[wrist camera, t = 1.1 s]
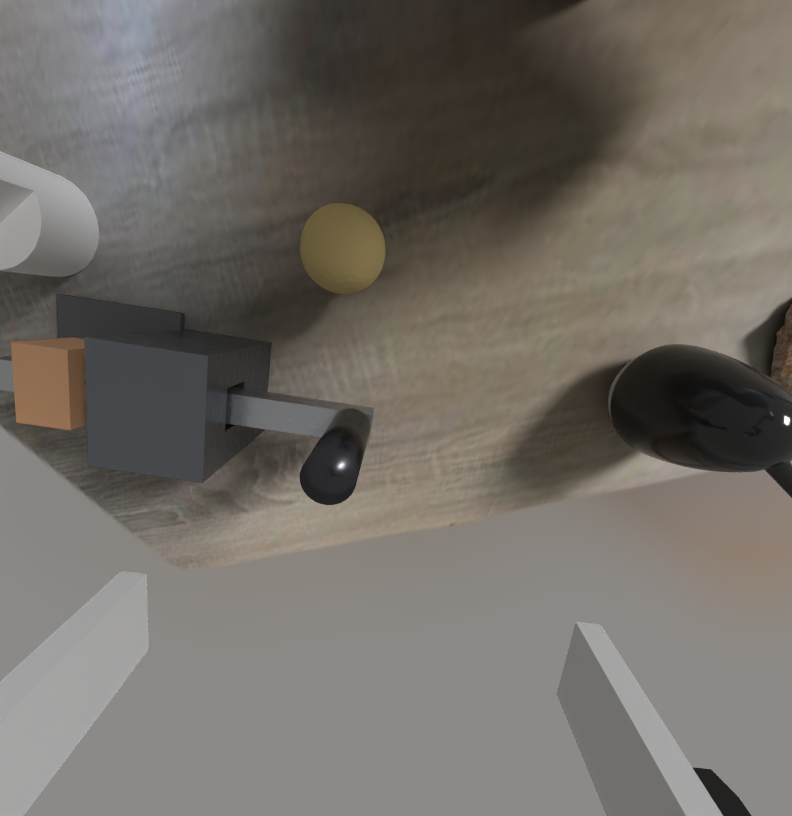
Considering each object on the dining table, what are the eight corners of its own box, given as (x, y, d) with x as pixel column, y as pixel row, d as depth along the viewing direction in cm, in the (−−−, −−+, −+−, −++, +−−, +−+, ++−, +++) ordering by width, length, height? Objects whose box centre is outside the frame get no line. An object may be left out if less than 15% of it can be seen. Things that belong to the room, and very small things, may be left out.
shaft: (20, 351, 32) (-209, 373, 20) (374, 404, 33) (359, 456, 21) (22, 387, 33) (-198, 429, 21) (369, 438, 33) (352, 508, 21)
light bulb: (311, 286, 37) (280, 275, 28) (329, 215, 36) (302, 178, 26) (377, 306, 38) (368, 303, 28) (396, 237, 36) (395, 209, 26)
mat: (61, 294, 38) (56, 294, 37) (184, 313, 38) (180, 313, 37) (66, 415, 40) (61, 416, 40) (180, 432, 41) (177, 433, 40)
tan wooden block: (72, 337, 33) (10, 341, 28) (120, 344, 34) (67, 350, 28) (75, 405, 35) (16, 422, 29) (121, 412, 35) (70, 430, 30)
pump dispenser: (620, 462, 41) (746, 545, 26) (572, 379, 39) (678, 419, 24) (713, 408, 40) (901, 465, 25) (668, 320, 38) (842, 323, 23)
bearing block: (188, 329, 38) (84, 337, 26) (271, 342, 38) (207, 355, 26) (186, 418, 40) (88, 466, 28) (264, 430, 41) (202, 482, 28)
